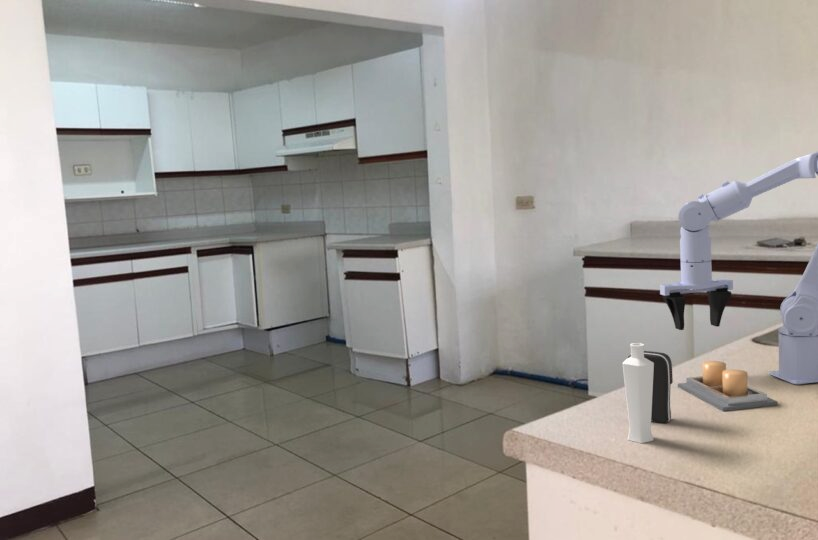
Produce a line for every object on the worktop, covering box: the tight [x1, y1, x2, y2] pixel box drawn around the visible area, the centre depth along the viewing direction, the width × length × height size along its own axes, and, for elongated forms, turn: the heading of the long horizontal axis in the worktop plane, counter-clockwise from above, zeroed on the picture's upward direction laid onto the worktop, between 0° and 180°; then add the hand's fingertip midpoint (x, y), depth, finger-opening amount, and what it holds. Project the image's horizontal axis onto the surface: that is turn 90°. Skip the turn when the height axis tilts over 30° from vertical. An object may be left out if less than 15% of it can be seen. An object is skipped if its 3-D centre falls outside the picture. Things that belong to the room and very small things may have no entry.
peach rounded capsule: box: [702, 360, 727, 387], centre depth 124 cm, size 4×4×4 cm
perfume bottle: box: [622, 342, 655, 444], centre depth 103 cm, size 5×4×15 cm
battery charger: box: [626, 350, 674, 424], centre depth 112 cm, size 7×4×11 cm, turn 50°
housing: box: [677, 369, 779, 412], centre depth 121 cm, size 10×15×5 cm, turn 6°
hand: (697, 327), depth 136 cm, fingers open, 7 cm apart
